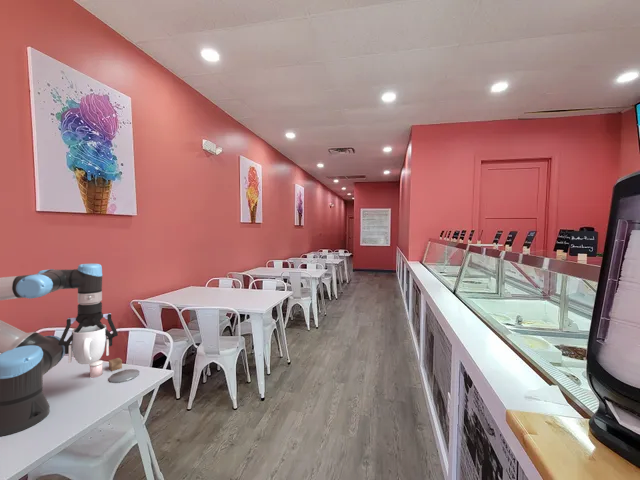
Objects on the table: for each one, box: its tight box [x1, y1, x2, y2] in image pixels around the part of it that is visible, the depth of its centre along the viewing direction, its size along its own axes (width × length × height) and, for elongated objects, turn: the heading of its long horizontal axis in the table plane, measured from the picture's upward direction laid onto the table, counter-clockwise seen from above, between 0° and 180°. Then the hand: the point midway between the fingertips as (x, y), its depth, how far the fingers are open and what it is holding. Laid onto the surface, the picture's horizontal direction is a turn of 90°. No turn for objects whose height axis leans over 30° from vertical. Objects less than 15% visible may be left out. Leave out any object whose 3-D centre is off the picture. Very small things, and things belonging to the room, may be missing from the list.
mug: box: [71, 324, 108, 365], centre depth 112 cm, size 15×11×13 cm
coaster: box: [108, 368, 140, 384], centre depth 125 cm, size 11×11×1 cm
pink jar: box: [89, 359, 104, 379], centre depth 126 cm, size 5×5×6 cm
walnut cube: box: [108, 357, 123, 372], centre depth 133 cm, size 4×4×4 cm
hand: (89, 357), depth 113 cm, fingers closed on mug, 11 cm apart
